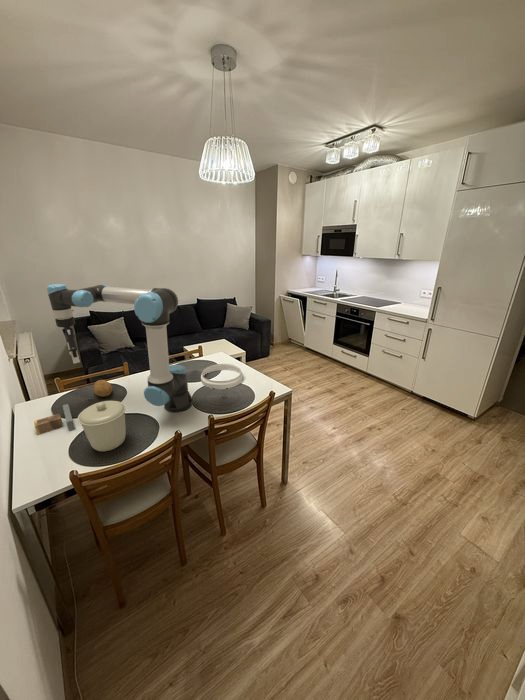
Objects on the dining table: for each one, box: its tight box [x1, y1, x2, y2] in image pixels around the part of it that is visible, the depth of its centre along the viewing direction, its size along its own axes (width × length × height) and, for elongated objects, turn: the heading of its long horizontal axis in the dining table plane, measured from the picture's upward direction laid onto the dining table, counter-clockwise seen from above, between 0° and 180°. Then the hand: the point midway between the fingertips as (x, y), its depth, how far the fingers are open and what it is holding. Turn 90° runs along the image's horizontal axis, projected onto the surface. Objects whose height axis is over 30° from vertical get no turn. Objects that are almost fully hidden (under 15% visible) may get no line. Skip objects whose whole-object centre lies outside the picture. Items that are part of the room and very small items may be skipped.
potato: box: [93, 379, 113, 397], centre depth 162 cm, size 10×14×8 cm
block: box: [33, 413, 64, 436], centre depth 134 cm, size 5×5×10 cm
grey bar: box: [62, 403, 76, 432], centre depth 139 cm, size 18×2×5 cm, turn 39°
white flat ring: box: [200, 363, 243, 390], centre depth 183 cm, size 27×27×6 cm
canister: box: [77, 400, 127, 452], centre depth 122 cm, size 18×18×21 cm
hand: (74, 358), depth 142 cm, fingers open, 13 cm apart
